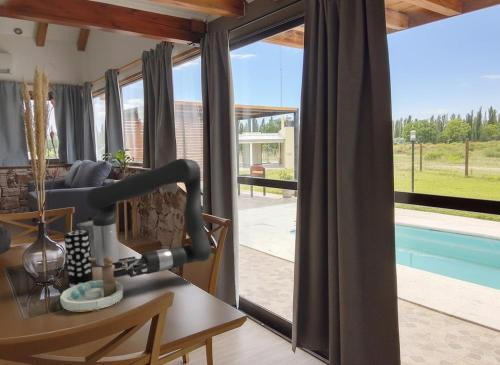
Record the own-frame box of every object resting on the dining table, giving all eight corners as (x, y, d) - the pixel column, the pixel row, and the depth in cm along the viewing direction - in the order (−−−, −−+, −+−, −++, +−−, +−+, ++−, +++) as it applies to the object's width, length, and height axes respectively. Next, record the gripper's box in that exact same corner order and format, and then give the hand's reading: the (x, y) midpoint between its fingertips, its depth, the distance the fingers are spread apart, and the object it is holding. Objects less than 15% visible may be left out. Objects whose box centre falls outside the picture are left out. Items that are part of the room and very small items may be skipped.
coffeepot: (74, 258, 178) (71, 219, 176) (84, 252, 188) (80, 215, 186) (107, 257, 178) (104, 218, 176) (115, 251, 187) (113, 214, 185)
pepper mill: (108, 292, 134) (106, 254, 133) (119, 293, 133) (116, 255, 132) (101, 297, 130) (98, 258, 129) (111, 298, 129) (108, 259, 128)
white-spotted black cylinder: (69, 283, 147) (65, 231, 145) (93, 280, 150) (89, 228, 148) (68, 291, 139) (63, 236, 137) (93, 287, 142) (88, 233, 140)
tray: (88, 286, 143) (87, 276, 143) (134, 291, 138) (133, 280, 137) (48, 309, 125) (47, 297, 125) (99, 315, 120) (98, 302, 119)
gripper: (149, 246, 145) (104, 254, 137) (163, 255, 134) (115, 265, 125) (150, 266, 146) (105, 275, 137) (165, 276, 134) (116, 288, 126)
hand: (110, 270), depth 131 cm, fingers open, 8 cm apart
